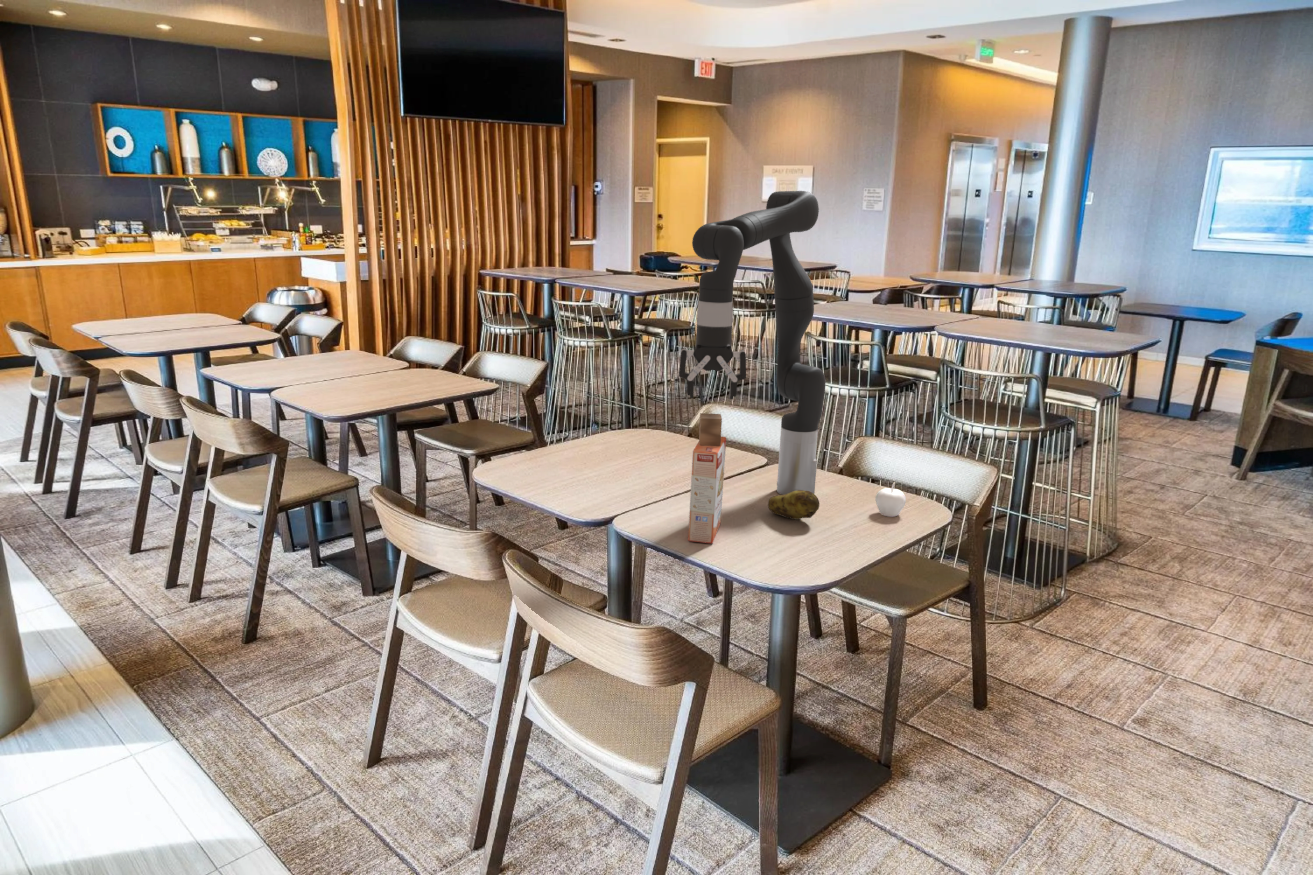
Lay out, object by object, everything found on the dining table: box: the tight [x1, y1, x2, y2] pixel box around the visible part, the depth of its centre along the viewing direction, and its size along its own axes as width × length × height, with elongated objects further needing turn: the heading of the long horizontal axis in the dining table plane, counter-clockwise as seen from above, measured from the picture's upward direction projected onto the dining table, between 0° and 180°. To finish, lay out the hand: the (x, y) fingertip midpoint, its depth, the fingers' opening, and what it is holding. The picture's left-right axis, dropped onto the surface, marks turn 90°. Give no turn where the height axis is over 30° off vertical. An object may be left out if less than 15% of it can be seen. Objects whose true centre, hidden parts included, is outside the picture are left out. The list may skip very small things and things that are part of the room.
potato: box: [767, 490, 820, 520], centre depth 203 cm, size 8×13×8 cm, turn 25°
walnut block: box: [698, 413, 723, 446], centre depth 189 cm, size 4×4×6 cm
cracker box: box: [687, 435, 727, 545], centre depth 192 cm, size 14×6×21 cm, turn 168°
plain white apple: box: [875, 481, 907, 518], centre depth 209 cm, size 7×7×8 cm
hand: (711, 398), depth 187 cm, fingers open, 8 cm apart
